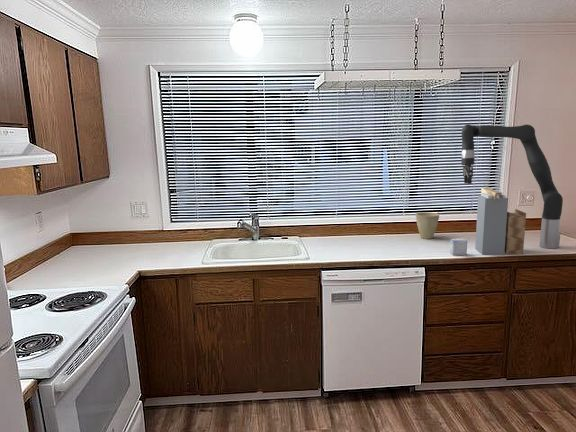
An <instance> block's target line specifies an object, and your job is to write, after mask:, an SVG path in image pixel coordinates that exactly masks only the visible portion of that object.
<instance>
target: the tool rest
mask: <svg viewBox="0 0 576 432" xmlns="http://www.w3.org/2000/svg"><path fill="white" fill-rule="evenodd" d="M526 218H527V213H526V212H524V211H522V210H519V209H517V208H515V209H514V212H510V211H507V222H506V236H505V250H504V255H524V249H525V248H524V246H525V233H526V222H527V219H526Z"/></svg>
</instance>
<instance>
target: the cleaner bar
mask: <svg viewBox="0 0 576 432" xmlns="http://www.w3.org/2000/svg"><path fill="white" fill-rule="evenodd" d="M481 193H486V194H489V195H492V198H494V199H503V195H504V194H503V192H501V191H499V190H495V189H492V188H489V187H481V191H480V194H481Z"/></svg>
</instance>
